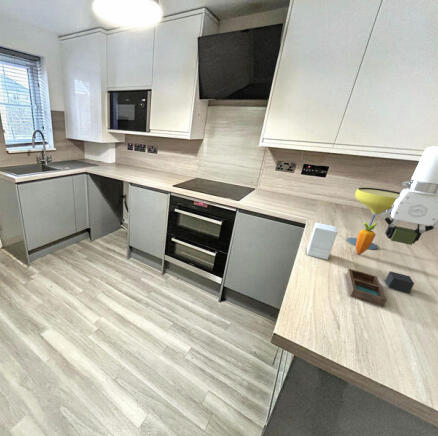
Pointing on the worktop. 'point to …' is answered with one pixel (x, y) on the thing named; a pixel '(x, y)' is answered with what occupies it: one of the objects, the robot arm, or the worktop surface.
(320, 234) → the white packaging box
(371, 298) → the brown divided tray
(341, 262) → the worktop surface
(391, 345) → the worktop surface
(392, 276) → the dark grey block
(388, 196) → the cocktail glass
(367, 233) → the carrot
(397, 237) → the olive green block
